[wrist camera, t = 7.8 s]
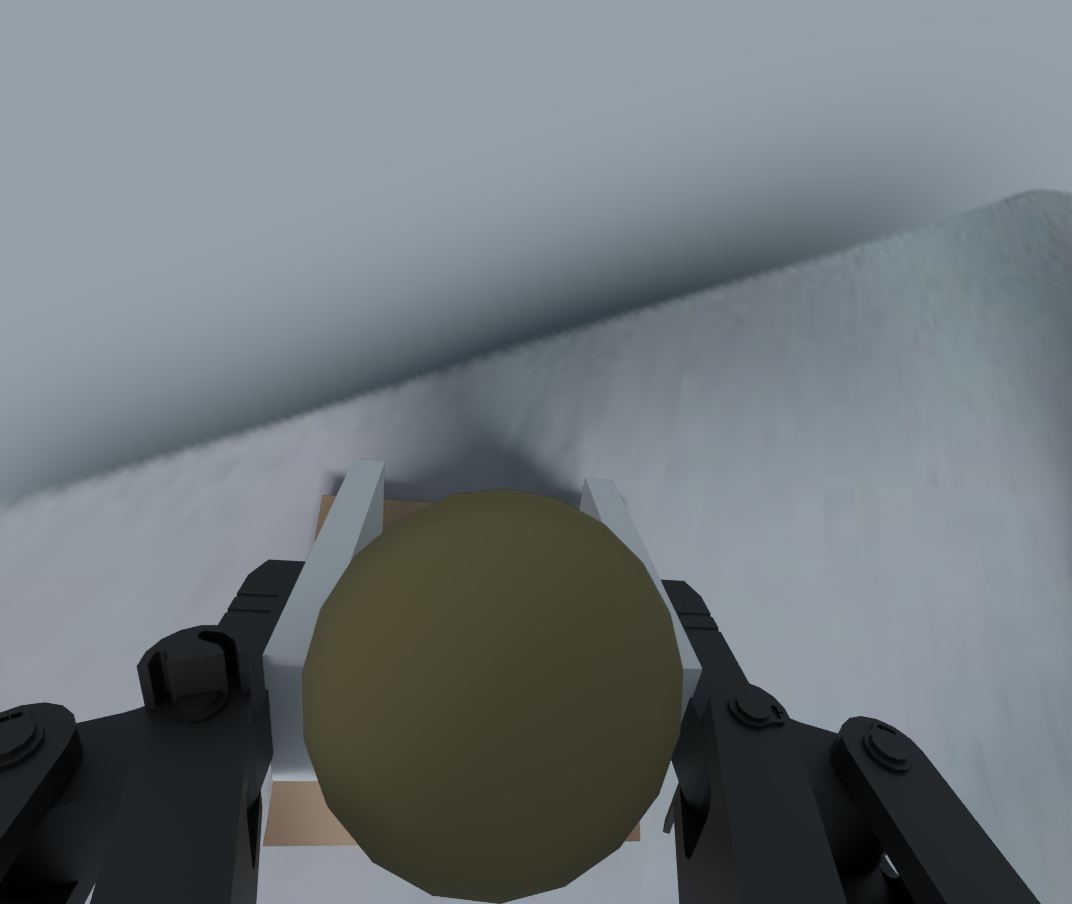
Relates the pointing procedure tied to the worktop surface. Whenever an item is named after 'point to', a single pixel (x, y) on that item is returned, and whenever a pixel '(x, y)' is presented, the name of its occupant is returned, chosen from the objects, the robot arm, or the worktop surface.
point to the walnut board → (301, 803)
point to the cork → (492, 695)
